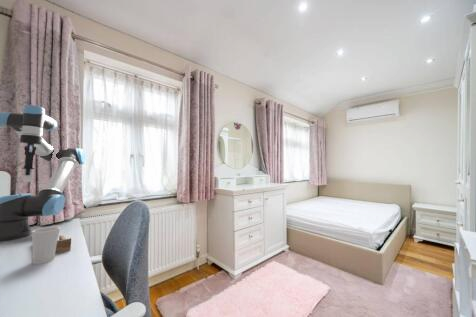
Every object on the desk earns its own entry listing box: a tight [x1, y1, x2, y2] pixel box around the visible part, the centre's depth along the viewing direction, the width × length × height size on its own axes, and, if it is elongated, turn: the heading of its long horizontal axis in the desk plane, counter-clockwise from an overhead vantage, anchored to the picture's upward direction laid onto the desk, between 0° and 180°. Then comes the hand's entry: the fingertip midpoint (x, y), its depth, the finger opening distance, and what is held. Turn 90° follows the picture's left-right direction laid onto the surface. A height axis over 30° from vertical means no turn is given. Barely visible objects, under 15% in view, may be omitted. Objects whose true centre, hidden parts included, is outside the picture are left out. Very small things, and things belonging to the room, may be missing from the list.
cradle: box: [55, 234, 72, 255], centre depth 91 cm, size 22×10×5 cm, turn 50°
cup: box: [31, 226, 61, 265], centre depth 77 cm, size 8×8×12 cm
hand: (26, 181), depth 97 cm, fingers closed
